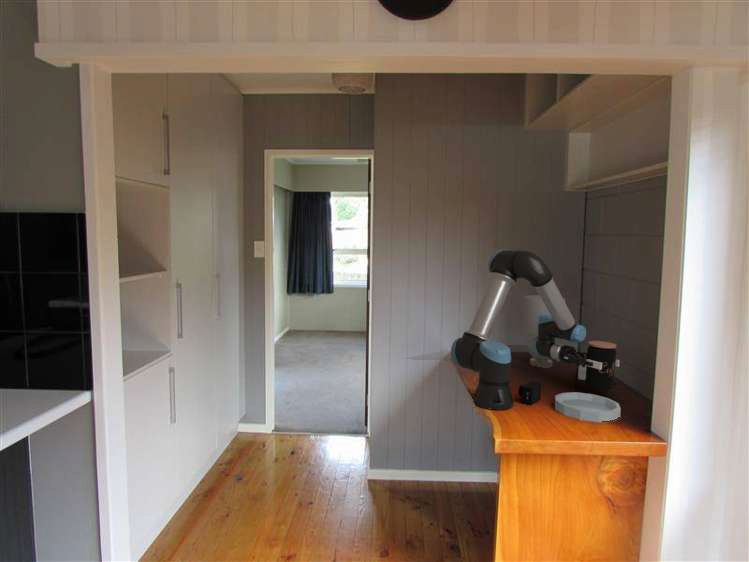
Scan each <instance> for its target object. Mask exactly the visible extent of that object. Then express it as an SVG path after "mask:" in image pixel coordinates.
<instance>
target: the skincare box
mask: <svg viewBox="0 0 749 562" xmlns="http://www.w3.org/2000/svg"><path fill="white" fill-rule="evenodd" d="M577 376H578V377H577V379H578V380H582V381H585V379H586V365H585V367H582V365H581V366H579V365H578V372H577Z"/></svg>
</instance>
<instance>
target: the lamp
mask: <svg viewBox="0 0 749 562" xmlns="http://www.w3.org/2000/svg"><path fill="white" fill-rule="evenodd" d="M562 298H563V300H564V301H565V302H566V298H564V297H562ZM540 315H551V314H550V313H549V311H548V309H547V307H546V306H545V304H544V302H543V300H542V298H541V297H540V295H539V294H538V295H536V294H535V295H524V296H523V310H522V332H523V333H525V334H528V335H533V336H534V337H533V338H532V339H531V340H530V342H529V344H528V351H529V354H530V355H531V358H530V359H529V365H530V364H531V365H530V366H532V365H533V366H532V367H534V366H537V367H536V368H539V367H542V368H541V369H549V368H553V359H552V360H551V358H547V357H542V356H540V355H537V354H535V353H534V352H533V350H532V345H533V342H534V340H536V339H538V318H539V316H540Z"/></svg>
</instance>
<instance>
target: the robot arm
mask: <svg viewBox="0 0 749 562" xmlns="http://www.w3.org/2000/svg"><path fill="white" fill-rule="evenodd" d="M487 266H488V271H489V274H488V275H489V278H490V281H489V283H488V285H487V288H486V290H485V291H484V294H483V297H482V300H481V302H480V304H479V306H478V308H477V311H476V313H475V316H474V318H473V320H472V322H471V325H470V327H469V329H468V330H465V331H464V332H463V334H462V336H461V337H458V338H457V339H455V340H454V341H453V343H452V344H451V348H450V355H451V357H452V360H453V363H455V364H456V365H457V366H459V367H462V368H463V369H467V370H470V371H473V372H475V373H478V384H477V386H476V389H475V391H474V394H473V399H472V403H473V404H474V405H475V406H477V407H479V408H483V409H485V408H491V409H498V410H497V411H503V410H502V409H507V410H510V409H509V408H511V409H512V408H514V401H515V400H514V398H513V393H512V389H511V387H510V386H511V385H510V383H511V382H510V381H511V370H512V369H511V368H512V366H511V365H512V355H511V354H512V353H511V352H512V351H511V348H510V347H509V346H508V345H506V344H504V343H502V342H498V341H493V340H491V341H490V337H491V334H492V331H493V329H494V327H495V324H496V322H497V319H498V318H499V315H500V312H501V310H502V307H503V305H504V302H505V300H506V298H507V296H508V294H509V292H510V291H509V290H510V288H511V287H514V286H516V284H517V282H518V279H523V280H527V282H529V284H530V286H531V287H532V288H535V290H536V291H537V293H538V295H540V297H541V298H542V300H543V302H544V304H545V306H546V307H547V309H548V311H549V313H550V314H551V315H540V316H539V318H538V339H536V340H534V342H533V345H532V350H533V352H534V353H535V354H537V355H540V356H542V357H547V358H550V360H551V359H552V360H555V361H556V362H563V363H566V364H574V365H577V366H578V367H579V366H581V365H582V367H585V365H586V366H588V367H592V368H596V369H600V370H602V363H601V362H597V361H593V360H589V359H587V352H586V351H577V349H576V348H575V347H574V346H571V345H567V344H564V343H563V344H562V343H559V342H556V339H558V340H559V339H560V340H564V341H568V342H573V343H575V342H576V343H582V342H583V341H585V339H586V336H587V329H586V327H585V326H584V325H582V324H577V322H576V321H575V318H574V317H573V315H572V313H571V310H570V309H569V308H568V306H567V304H566V300H565V301H564V300H563V298H564V297H563V295H562V294H561V292H560V290H559V288H558V287H557V284H556V283H555V281H554V273H553V272H552V270H551V268H550V267H549V265H548V264H547V263H546V262H545V260H544V259H543V258H542V257H540V255H538V254H536V252H533V251H531V250H529V249H527V250H525V249H524V250H522V249H521V250H520V249H499V250H496V251H495V252H493V253H492V255H491V256H490V257H489V259H488V263H487ZM616 367H620V359H616V363H615V368H616ZM491 409H490V410H491Z"/></svg>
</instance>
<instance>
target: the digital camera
mask: <svg viewBox="0 0 749 562" xmlns="http://www.w3.org/2000/svg"><path fill="white" fill-rule="evenodd" d="M517 392H518V396H519V397H520V404H521V403H522V404H521V405H524V404H526V405H525V406H528V405H530V406H529V407H532V406H534V405H535V404H537V403H538V402H539V401H541V400H540V399H542V398H541V396H542V395H541V394H542V382H537V381H535V380H534V381H533V380H530V381H528V382H527V383H525V384H520V385H519V386H518V391H517ZM538 400H539V401H538ZM537 401H538V402H537ZM534 403H535V404H534ZM533 404H534V405H533ZM531 405H532V406H531Z"/></svg>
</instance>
